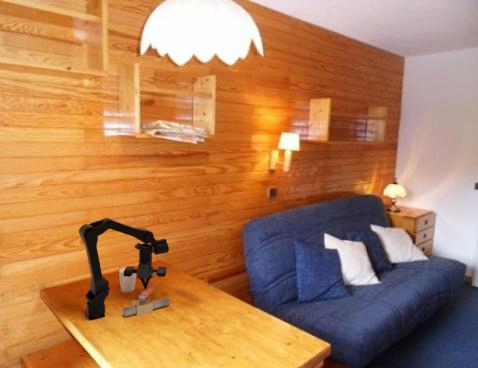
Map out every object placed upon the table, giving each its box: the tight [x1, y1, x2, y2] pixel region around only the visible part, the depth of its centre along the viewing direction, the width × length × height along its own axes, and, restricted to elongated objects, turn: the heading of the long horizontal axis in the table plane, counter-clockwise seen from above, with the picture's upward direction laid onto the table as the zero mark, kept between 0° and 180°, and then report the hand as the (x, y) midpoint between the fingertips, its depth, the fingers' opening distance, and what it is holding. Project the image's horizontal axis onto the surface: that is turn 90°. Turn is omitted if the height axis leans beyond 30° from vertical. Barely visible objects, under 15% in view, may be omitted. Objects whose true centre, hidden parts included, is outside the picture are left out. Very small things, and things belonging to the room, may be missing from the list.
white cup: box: [118, 267, 137, 293], centre depth 183 cm, size 8×8×10 cm
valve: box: [122, 296, 171, 318], centre depth 163 cm, size 20×6×5 cm, turn 125°
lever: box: [138, 284, 155, 301], centre depth 166 cm, size 14×3×2 cm, turn 173°
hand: (145, 289), depth 171 cm, fingers closed
